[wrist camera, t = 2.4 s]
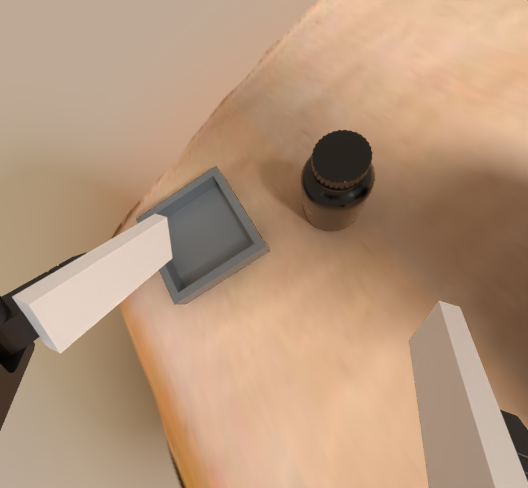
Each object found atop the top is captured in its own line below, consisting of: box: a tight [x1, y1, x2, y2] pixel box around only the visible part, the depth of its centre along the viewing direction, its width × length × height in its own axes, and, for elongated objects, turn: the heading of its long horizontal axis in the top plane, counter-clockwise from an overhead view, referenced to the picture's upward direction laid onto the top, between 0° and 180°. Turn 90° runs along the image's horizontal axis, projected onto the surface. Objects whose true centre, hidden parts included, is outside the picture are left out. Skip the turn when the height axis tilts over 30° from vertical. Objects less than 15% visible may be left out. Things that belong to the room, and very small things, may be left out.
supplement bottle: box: [301, 130, 375, 231], centre depth 26 cm, size 7×7×12 cm
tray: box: [136, 166, 270, 304], centre depth 32 cm, size 13×13×3 cm
